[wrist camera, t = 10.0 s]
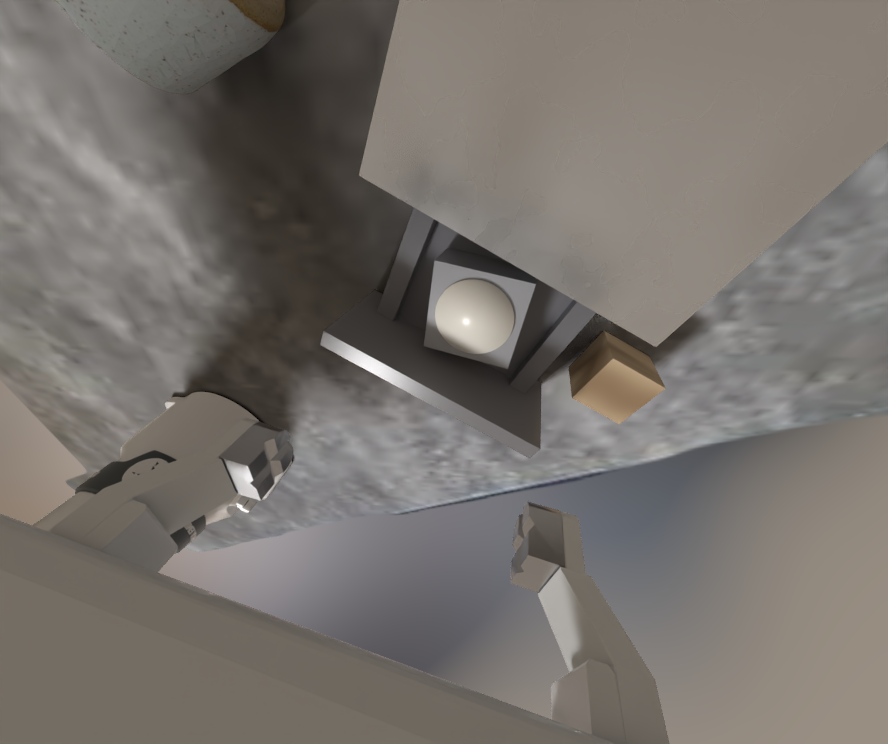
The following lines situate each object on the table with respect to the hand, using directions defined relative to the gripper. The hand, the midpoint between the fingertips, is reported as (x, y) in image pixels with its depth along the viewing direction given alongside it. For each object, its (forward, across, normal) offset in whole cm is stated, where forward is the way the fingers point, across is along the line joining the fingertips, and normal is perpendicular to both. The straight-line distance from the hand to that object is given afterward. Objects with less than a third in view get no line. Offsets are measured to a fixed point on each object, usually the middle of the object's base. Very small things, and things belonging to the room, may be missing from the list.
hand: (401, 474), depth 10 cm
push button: (+15, 0, 0) cm, 15 cm away
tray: (+17, -1, -1) cm, 17 cm away
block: (+17, -11, +3) cm, 20 cm away
